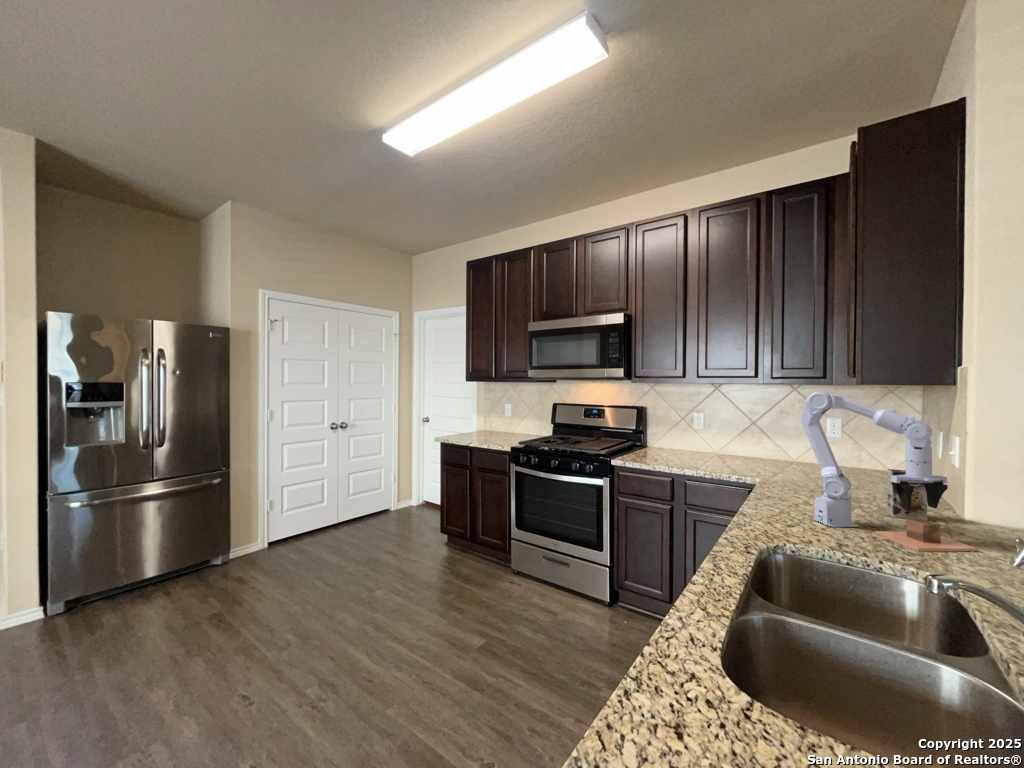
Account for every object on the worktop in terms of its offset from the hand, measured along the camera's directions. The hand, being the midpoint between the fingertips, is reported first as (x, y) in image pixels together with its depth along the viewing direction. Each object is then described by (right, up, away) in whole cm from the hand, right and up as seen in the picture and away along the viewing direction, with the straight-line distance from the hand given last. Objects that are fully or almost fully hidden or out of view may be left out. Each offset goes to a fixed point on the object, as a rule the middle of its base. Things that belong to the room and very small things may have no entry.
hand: (919, 507), depth 125 cm
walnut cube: (-2, -9, -3) cm, 9 cm away
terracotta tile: (-2, -9, -3) cm, 10 cm away
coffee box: (+17, -10, +21) cm, 29 cm away
